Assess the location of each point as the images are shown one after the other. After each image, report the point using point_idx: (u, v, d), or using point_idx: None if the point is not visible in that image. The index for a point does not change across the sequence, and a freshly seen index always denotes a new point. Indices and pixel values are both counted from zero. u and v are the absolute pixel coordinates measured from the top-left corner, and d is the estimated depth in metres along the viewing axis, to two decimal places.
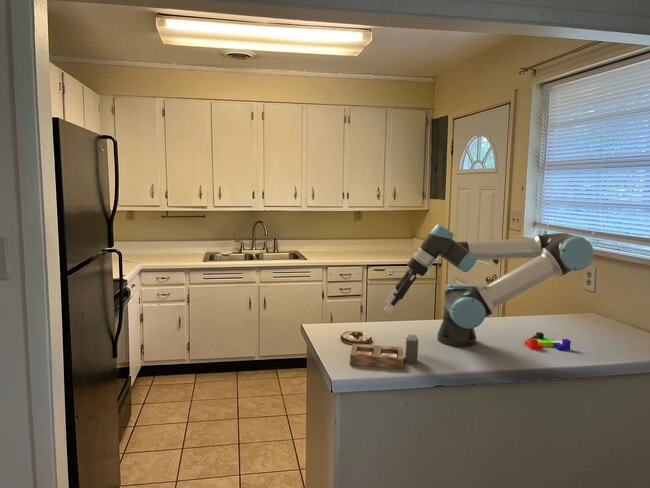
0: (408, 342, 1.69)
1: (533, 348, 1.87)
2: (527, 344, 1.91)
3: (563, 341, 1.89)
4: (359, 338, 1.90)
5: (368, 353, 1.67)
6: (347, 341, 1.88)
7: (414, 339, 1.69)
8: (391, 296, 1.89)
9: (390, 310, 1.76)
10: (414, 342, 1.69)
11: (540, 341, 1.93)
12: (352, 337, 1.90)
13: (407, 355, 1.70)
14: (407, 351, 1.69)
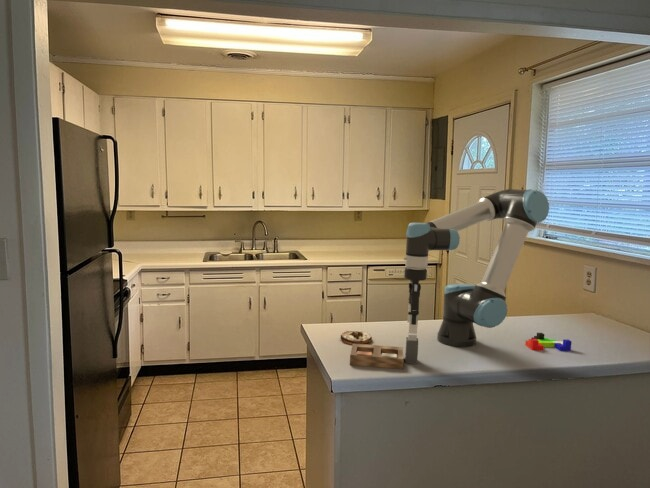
0: (408, 342, 1.69)
1: (533, 349, 1.87)
2: (528, 344, 1.91)
3: (564, 341, 1.88)
4: (359, 338, 1.90)
5: (368, 353, 1.67)
6: (347, 341, 1.88)
7: (414, 339, 1.69)
8: None
9: (415, 330, 1.63)
10: (414, 342, 1.69)
11: (541, 341, 1.92)
12: (352, 337, 1.90)
13: (407, 355, 1.70)
14: (407, 351, 1.69)
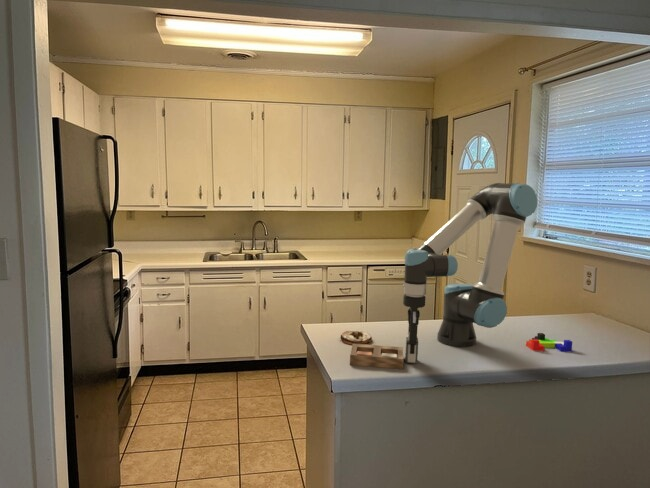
0: None
1: (534, 349, 1.86)
2: (528, 345, 1.90)
3: (565, 342, 1.88)
4: (359, 338, 1.90)
5: (368, 353, 1.67)
6: (347, 341, 1.88)
7: None
8: None
9: (413, 359, 1.69)
10: None
11: (541, 342, 1.92)
12: (352, 337, 1.90)
13: (407, 355, 1.70)
14: (407, 351, 1.69)
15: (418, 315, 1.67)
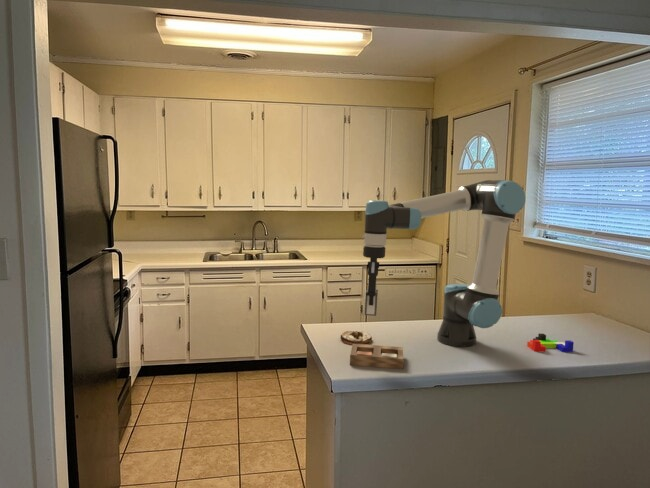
0: None
1: (535, 350, 1.86)
2: (530, 346, 1.89)
3: (566, 342, 1.87)
4: (359, 338, 1.90)
5: (368, 353, 1.67)
6: (347, 341, 1.88)
7: None
8: None
9: (372, 311, 1.67)
10: None
11: (543, 342, 1.91)
12: (352, 337, 1.90)
13: (366, 307, 1.67)
14: (366, 303, 1.67)
15: (377, 266, 1.65)
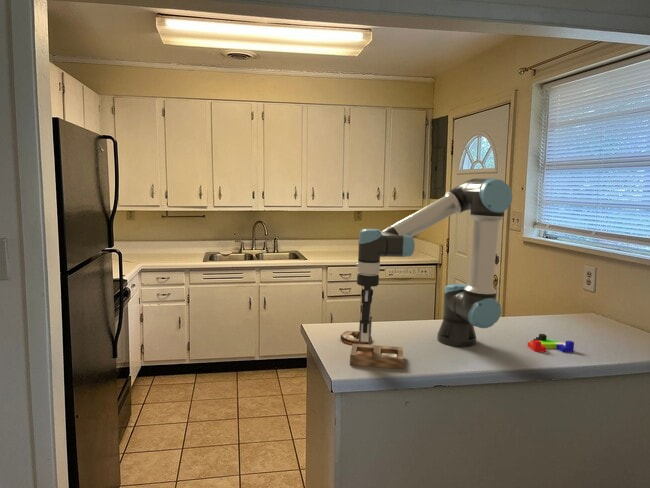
0: None
1: (536, 350, 1.85)
2: (530, 346, 1.89)
3: (566, 343, 1.87)
4: None
5: (368, 353, 1.67)
6: (347, 341, 1.88)
7: None
8: None
9: (366, 338, 1.68)
10: None
11: (543, 343, 1.91)
12: (352, 337, 1.90)
13: (360, 334, 1.69)
14: (360, 331, 1.69)
15: (371, 294, 1.67)
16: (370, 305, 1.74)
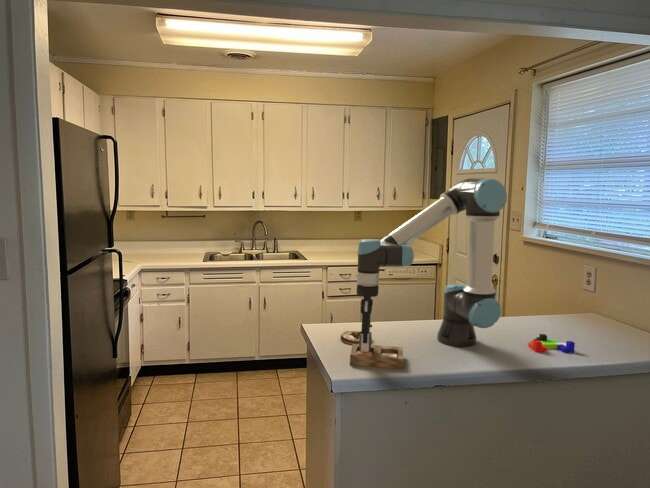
0: None
1: (537, 350, 1.85)
2: (531, 346, 1.89)
3: (567, 343, 1.86)
4: None
5: (368, 353, 1.67)
6: (347, 341, 1.88)
7: None
8: None
9: (366, 348, 1.68)
10: None
11: (544, 343, 1.90)
12: (352, 337, 1.90)
13: (360, 349, 1.70)
14: (360, 345, 1.69)
15: (371, 304, 1.67)
16: (370, 314, 1.75)
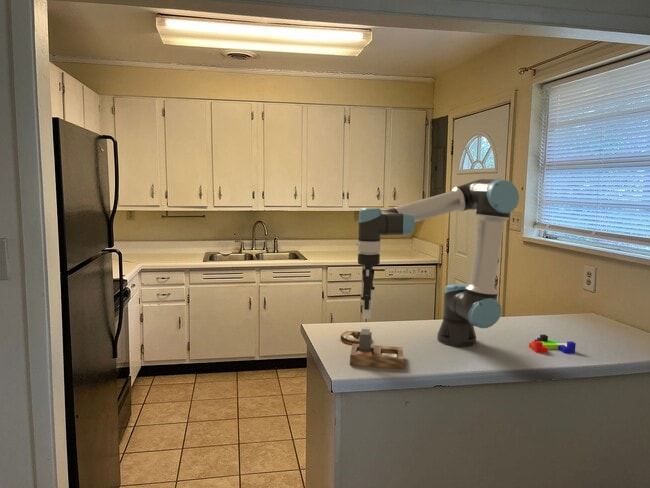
0: (361, 336, 1.69)
1: (537, 351, 1.84)
2: (531, 347, 1.88)
3: (568, 343, 1.86)
4: None
5: (368, 353, 1.67)
6: (347, 341, 1.88)
7: (367, 333, 1.69)
8: None
9: (368, 315, 1.63)
10: (367, 336, 1.69)
11: (544, 343, 1.90)
12: (352, 337, 1.90)
13: (360, 349, 1.70)
14: (360, 345, 1.69)
15: (372, 272, 1.66)
16: None
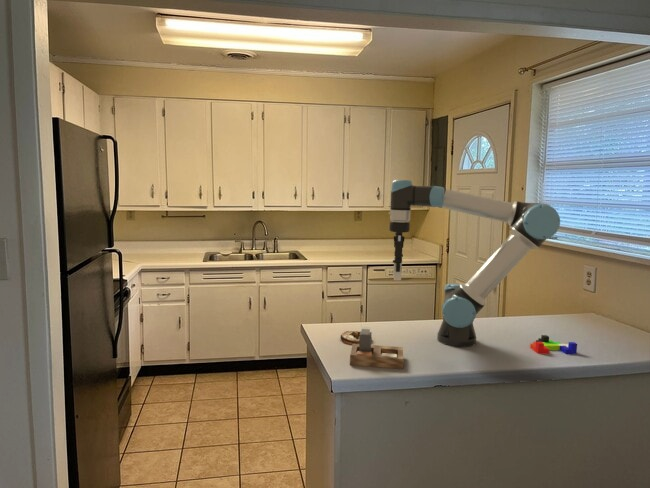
0: (361, 336, 1.69)
1: (539, 352, 1.84)
2: (533, 347, 1.87)
3: (569, 344, 1.85)
4: None
5: (368, 353, 1.67)
6: (347, 341, 1.88)
7: (367, 333, 1.69)
8: None
9: (399, 277, 1.78)
10: (367, 336, 1.69)
11: (546, 344, 1.89)
12: (352, 337, 1.90)
13: (360, 349, 1.70)
14: (360, 345, 1.69)
15: (403, 238, 1.82)
16: None
